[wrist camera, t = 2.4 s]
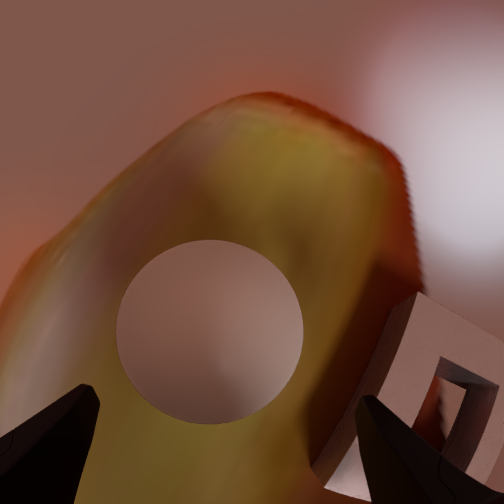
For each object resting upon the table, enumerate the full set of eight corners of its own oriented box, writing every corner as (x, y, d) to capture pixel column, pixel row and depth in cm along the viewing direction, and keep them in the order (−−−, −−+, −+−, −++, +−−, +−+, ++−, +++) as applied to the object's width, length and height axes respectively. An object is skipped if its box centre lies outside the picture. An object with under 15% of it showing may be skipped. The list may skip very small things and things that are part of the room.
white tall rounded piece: (250, 408, 16) (240, 461, 5) (190, 372, 17) (84, 350, 6) (285, 349, 18) (337, 291, 7) (226, 315, 19) (181, 210, 8)
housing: (438, 502, 12) (466, 515, 8) (310, 468, 14) (323, 487, 11) (496, 366, 16) (528, 358, 12) (391, 308, 19) (418, 291, 15)
